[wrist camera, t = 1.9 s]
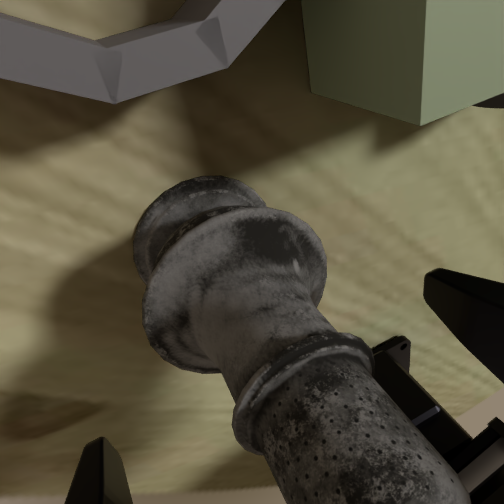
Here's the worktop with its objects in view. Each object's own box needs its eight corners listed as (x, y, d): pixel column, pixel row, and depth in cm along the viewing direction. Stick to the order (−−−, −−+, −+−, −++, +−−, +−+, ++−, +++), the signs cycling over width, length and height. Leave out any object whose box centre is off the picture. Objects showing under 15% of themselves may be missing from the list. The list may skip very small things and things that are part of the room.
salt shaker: (162, 332, 16) (325, 817, 6) (91, 209, 12) (217, 893, 3) (290, 269, 17) (592, 598, 7) (258, 140, 13) (760, 452, 4)
